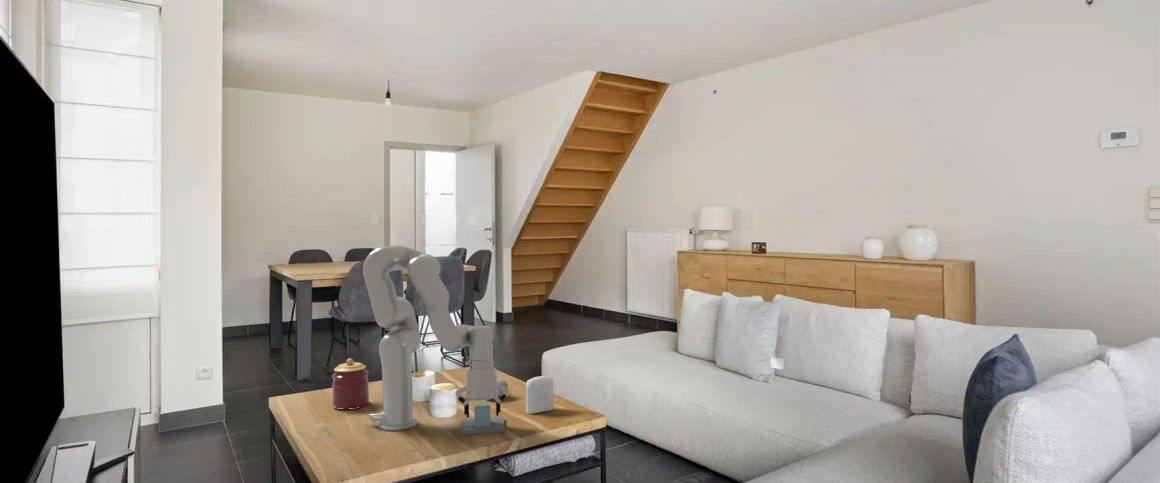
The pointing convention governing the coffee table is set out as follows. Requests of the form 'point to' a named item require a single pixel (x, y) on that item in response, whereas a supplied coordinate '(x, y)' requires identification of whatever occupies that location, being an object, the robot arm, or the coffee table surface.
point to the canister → (350, 385)
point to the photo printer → (539, 394)
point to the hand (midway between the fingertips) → (482, 415)
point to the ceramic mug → (503, 383)
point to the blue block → (482, 415)
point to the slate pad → (494, 427)
